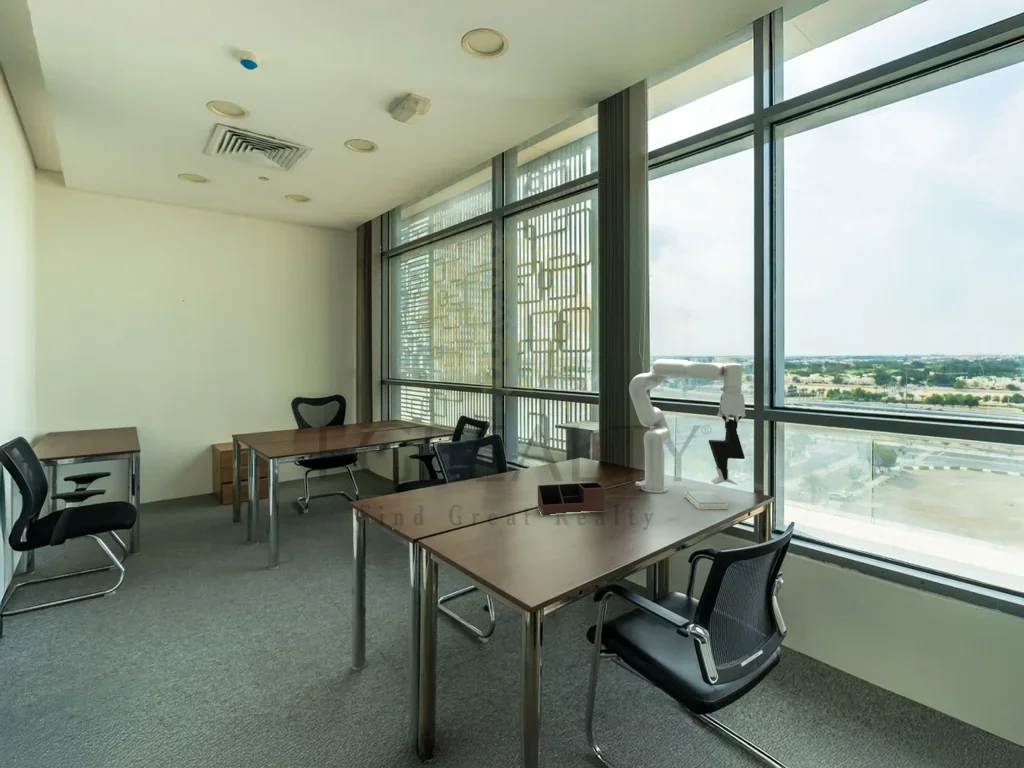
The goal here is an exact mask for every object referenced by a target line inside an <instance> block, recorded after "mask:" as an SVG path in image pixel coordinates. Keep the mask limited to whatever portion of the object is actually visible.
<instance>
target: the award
mask: <svg viewBox="0 0 1024 768" xmlns="http://www.w3.org/2000/svg"><path fill="white" fill-rule="evenodd" d="M729 422H730V430H726V429H725V436H724V437H725V438H724V440H723V439H722V440H719V439H709V440H708V444H709V447H710V449H711V453H712V457H713V460H714V462H715V465H716V466H715V469H716V472H717V475H718V476H717V477H715V478H713V479H711V482H712V483H713V484H714V485H718V484H722V483H725V482H726V483H730V484H733V485H737V486H738V485H739V484H738V483H736V482H735V481H734V480H732V479H730V478H729V469H728V461H729V459H736V460H737V459H738V460H744V459H745V458H746V457H745V453H744V450H743V448H742V444H741V441H740V437H739V434H738V431H737V430H736V427H735V423H734V419H732V418H729Z"/></svg>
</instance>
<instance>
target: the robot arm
mask: <svg viewBox="0 0 1024 768" xmlns="http://www.w3.org/2000/svg"><path fill="white" fill-rule="evenodd" d="M669 377H673V378H674V377H675V378H685V379H689V378H691V379H700V380H716V379H723V386H722V387H720V389H719V390H720V391H722V393H721V395H720V401H719V409H718V410H719V411H718V413H717V414H716V415H717V417H719V418H722V419H723V421H724V429H725V431H726V430H730V422H729V419H730V416H733V420H734V423H735V427H736V430H737V429H738V422H739V421H740V420H741V419H743V418H745V417H746V416H747V415H746V403H745V396H744V393H742V382H743V381H742V378H743V365H742V364H741V363H731V362H730V363H722V362H697V361H689V360H687V359H671V358H670V359H669V358H658V359H657V360H655V361H654V362H653V364H652V369H651V370H650V371H649V372H644V373H643V372H642V373H639V374H637V375H635V376H634V377H633V378H632V380H630V383H629V386H628V392H629V397H630V399H631V402H632V404H633V406H634V409H635V412H636V416H637V418H638V420H639V423H640V424H641V425H642V426H643V427H646V428H647V427H648V428H649V429H648V430H647V431H646V432H645V433H644V434H643V448H644V479H643V480H641V481H635V486H638V487H641V490H642V491H644V492H646V493H652V494H663V493H666V492H668V487H666V486H665V449H664V445H665V444H667V443H668V442H669V441H670V440H671V431H670V428H669V425H668V422H667V421H666V417H665V415H664V413H663V412H662V410H661V409H660V408H659V407H656V406H653V404H652V402H651V400H650V399H651V398H650V397H649V395H648V394H647V390H653V389H655V388H657V387H658V386H660V385H661V384H662V383H663V382H664V381H665V380H668V378H669Z"/></svg>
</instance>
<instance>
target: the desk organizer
mask: <svg viewBox="0 0 1024 768" xmlns="http://www.w3.org/2000/svg"><path fill="white" fill-rule="evenodd" d="M537 508H538V509H539V511H540V512H541V514H542V515H550V514H556V513H566V512H581V511H606V487H605V486H604V485H602V484H601V483H600V482H599V481H595V482H576V483H575V482H574V483H558V484H557V483H556V484H539V485H537Z"/></svg>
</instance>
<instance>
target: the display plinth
mask: <svg viewBox="0 0 1024 768" xmlns="http://www.w3.org/2000/svg"><path fill="white" fill-rule="evenodd" d="M685 497H686V498H687V499H688V500H689V501H688V500H687V499H686V500H687V501H688V502H689V503H690V504H691V505H693V504H694V505H695V506H696V507H697V508H698V509H697V508H696V507H695V506H694V505H693V506H694V507H695V508H696V509H697V510H708V509H717V510H718V509H729V507H728V505H729V504H728V503H727V502H726V501H725V500H723V499H722V498H721V497H720V496H718V495H717V494H716V493H715V492H713V491H710V490H705V491H704V490H703V491H700V490H697V491H696V490H693V491H692V490H691V491H690V490H688V491H685V492H684V498H685ZM718 511H719V510H718Z"/></svg>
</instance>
